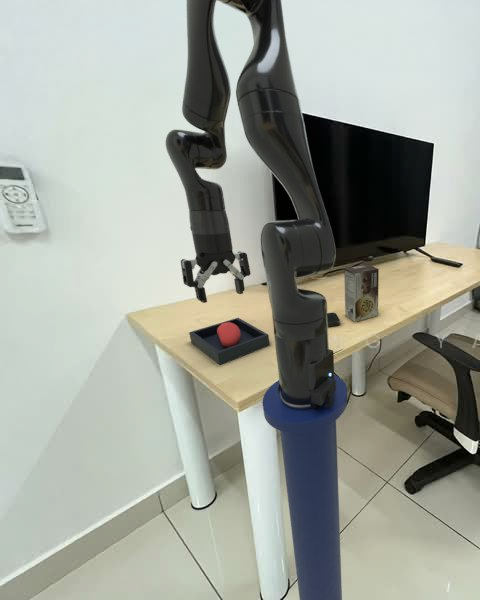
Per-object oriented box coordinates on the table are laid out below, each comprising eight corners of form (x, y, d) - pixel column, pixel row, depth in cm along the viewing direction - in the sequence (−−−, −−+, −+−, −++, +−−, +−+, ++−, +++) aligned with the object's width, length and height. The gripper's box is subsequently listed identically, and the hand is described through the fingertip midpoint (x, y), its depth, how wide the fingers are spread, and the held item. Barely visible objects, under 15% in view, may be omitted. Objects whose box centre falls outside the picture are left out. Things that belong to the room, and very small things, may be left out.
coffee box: (367, 309, 107) (368, 263, 101) (378, 315, 102) (379, 268, 97) (344, 315, 101) (343, 267, 95) (355, 322, 97) (354, 272, 91)
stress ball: (246, 338, 86) (234, 318, 85) (245, 341, 78) (231, 319, 77) (227, 347, 84) (214, 327, 83) (224, 352, 76) (210, 329, 75)
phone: (340, 321, 94) (288, 328, 88) (340, 325, 94) (288, 331, 88) (335, 312, 100) (286, 317, 95) (335, 315, 101) (286, 320, 95)
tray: (269, 345, 81) (268, 334, 80) (219, 365, 72) (217, 353, 71) (239, 327, 90) (238, 317, 89) (191, 342, 81) (188, 332, 79)
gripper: (182, 235, 63) (197, 309, 69) (250, 229, 74) (258, 294, 80) (168, 231, 67) (183, 301, 73) (234, 226, 78) (243, 287, 84)
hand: (222, 297), depth 76 cm, fingers open, 8 cm apart
